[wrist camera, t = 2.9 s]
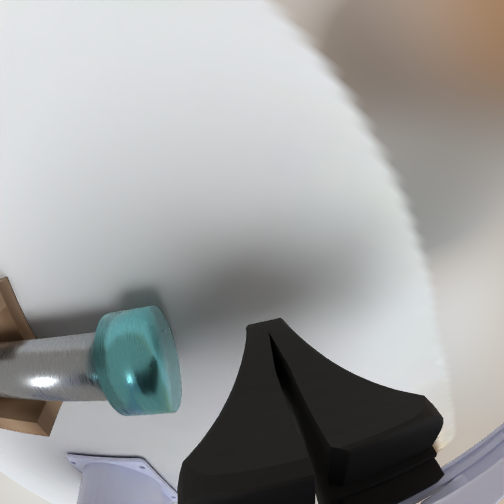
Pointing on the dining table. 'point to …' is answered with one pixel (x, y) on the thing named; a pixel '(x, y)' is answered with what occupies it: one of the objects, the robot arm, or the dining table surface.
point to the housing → (21, 410)
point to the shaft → (100, 365)
